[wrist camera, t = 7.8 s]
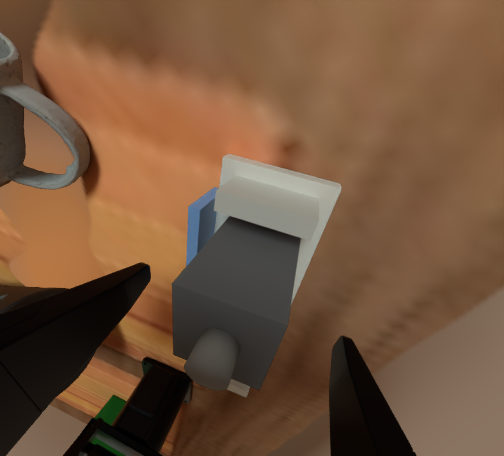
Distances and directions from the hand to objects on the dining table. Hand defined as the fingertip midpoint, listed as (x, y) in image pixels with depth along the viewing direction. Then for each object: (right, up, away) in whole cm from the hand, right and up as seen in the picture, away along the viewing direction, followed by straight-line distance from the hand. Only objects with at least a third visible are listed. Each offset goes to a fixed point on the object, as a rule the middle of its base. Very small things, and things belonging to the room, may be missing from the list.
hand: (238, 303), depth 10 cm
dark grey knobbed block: (+1, +2, +4) cm, 4 cm away
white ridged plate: (+1, -1, +6) cm, 6 cm away
